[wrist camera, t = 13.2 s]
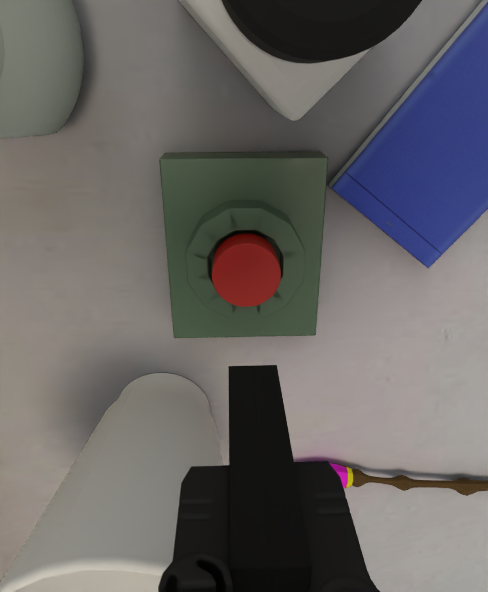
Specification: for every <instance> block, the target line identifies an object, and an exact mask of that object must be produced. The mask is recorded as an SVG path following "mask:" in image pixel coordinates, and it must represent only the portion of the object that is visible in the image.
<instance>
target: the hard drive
mask: <svg viewBox="0 0 488 592" xmlns="http://www.w3.org/2000/svg"><path fill="white" fill-rule="evenodd" d="M328 185H329V186H330V187H331V188H332V189H333V190H334V191H335V192H336V193H338V194H339V195H340V196H341V197H343V198H344V199H345V200H346V201H347V202H348V203H350V204H351V205H352V206H353V207H355V208H356V209H357V210H358V211H359V212H361V213H362V214H363V215H364V216H365V217H367V218H368V219H369V220H370V221H371V222H373V223H374V224H375V225H376V226H378V227H379V228H380V229H381V230H382V231H384V232H385V233H386V234H387V235H388V236H390V237H391V238H392V239H393V240H395V241H396V242H397V243H398V244H399V245H401V246H402V247H403V248H404V249H406V250H407V251H408V252H409V253H410V254H411V255H413V256H414V257H415V258H416V259H417V260H419V261H420V262H421V263H422V264H423V265H425V266H426V267H427V268H429V267H430V266H431V265H432V264H433V263H434V262H435V261H436V260H437V259H438V258H439V257H440V256H441V255H442V254H443V253H444V252H445V251H446V250H447V249H448V248H449V247H450V246H451V245H452V244H453V243H454V242H455V241H456V240H457V239H458V238H459V237H460V236H461V235H462V234H463V233H464V232H465V231H466V230H467V229H468V228H469V227H470V226H471V225H472V224H473V223H474V222H475V221H476V220H477V219H478V218H479V217H480V216H481V215H482V214H483V213H484V212H485V211H486V210H487V209H488V0H482V2H481V3H480V4H479V5H478V6H477V8H476V9H475V10H474V11H473V12H472V14H471V15H470V16H469V17H468V18H467V20H466V21H465V22H464V23H463V24H462V26H461V27H460V28H459V29H458V30H457V31H456V33H455V34H454V35H453V36H452V38H451V39H450V40H449V41H448V42H447V43H446V45H445V46H444V47H443V48H442V49H441V50H440V52H439V53H438V54H437V55H436V57H435V58H434V59H433V60H432V61H431V62H430V64H429V65H428V66H427V67H426V69H425V70H424V71H423V72H422V73H421V75H420V76H419V77H418V78H417V79H416V80H415V82H414V83H413V84H412V85H411V86H410V88H409V89H408V90H407V91H406V92H405V94H404V95H403V96H402V97H401V98H400V100H399V101H398V102H397V103H396V104H395V105H394V107H393V108H392V109H391V110H390V111H389V113H388V114H387V115H386V116H385V117H384V119H383V120H382V121H381V122H380V123H379V125H378V126H377V127H376V128H375V129H374V131H373V132H372V133H371V134H370V135H369V137H368V138H367V139H366V140H365V142H364V143H363V144H362V145H361V146H360V147H359V149H358V150H357V151H356V152H355V153H354V155H353V156H352V157H351V158H350V160H349V161H348V162H347V163H346V164H345V165H344V167H343V168H342V169H341V170H340V171H339V172H338V174H337V175H336V176H335V177H334V178H333V180H332V181H331V182H330V183H329V184H328Z"/></svg>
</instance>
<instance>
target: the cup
mask: <svg viewBox="0 0 488 592" xmlns="http://www.w3.org/2000/svg"><path fill="white" fill-rule="evenodd" d="M192 466H223V463H222V457H221V451H220V445H219V439H218V433H217V428H216V426H215V423H214V420H213V418H212V416H211V413H210V405H209V403H208V400H207V397H206V395H205V394H204V393H203V391H202V390H201V389H200V388H199V387H198V386H197V385H196V384H194V383H193V382H192V381H190V380H188V379H186V378H184V377H181V376H179V375H174V374H169V373H153V374H148V375H144V376H141V377H139V378H137V379H135V380H133V381H132V382H131V383H129V384H128V385H127V386H126V387H125V388H124V389H123V391H122V393H121V394H120V396H119V398H118V400H116V401H115V402H114V403H113V404H112V405H111V406H110V407H109V408H108V409H107V410H106V412H105V414H104V415H103V417H102V419H101V420H100V422H99V423H98V425H97V427H96V428H95V430H94V432H93V433H92V435H91V436H90V438H89V440H88V441H87V443H86V445H85V446H84V448H83V449H82V451H81V453H80V454H79V456H78V458H77V459H76V461H75V463H74V464H73V466H72V467H71V469H70V471H69V472H68V474H67V476H66V477H65V479H64V480H63V482H62V484H61V485H60V487H59V489H58V490H57V492H56V493H55V495H54V497H53V498H52V500H51V502H50V503H49V505H48V506H47V508H46V510H45V511H44V513H43V515H42V516H41V518H40V519H39V521H38V523H37V524H36V526H35V528H34V529H33V531H32V532H31V534H30V536H29V537H28V539H27V541H26V542H25V544H24V545H23V547H22V549H21V550H20V552H19V554H18V555H17V557H16V558H15V560H14V562H13V563H12V565H11V567H10V568H9V570H8V571H7V573H6V575H5V576H4V578H3V580H2V581H1V583H0V592H159V591H158V586H159V583H160V580H161V577H162V574H163V572H164V571H165V570H166V569H167V567H168V566H169V565H170V564H171V562H172V561H173V552H174V543H175V534H176V525H177V516H178V507H179V498H180V490H181V482H182V481H183V479H184V477H185V476H186V474H187V473H188V471H189V469H190V468H191V467H192Z"/></svg>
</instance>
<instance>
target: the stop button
mask: <svg viewBox="0 0 488 592" xmlns="http://www.w3.org/2000/svg"><path fill="white" fill-rule="evenodd" d="M280 279H281V270H280V265H279V261H278V258H277V254H276V252H275V250H274V248H273V247H272V245H271V244H270V243H269V242H268V241H267V240H265V239H264V238H262V237H260V236H258V235H255V234H248V233H243V234H237V235H234V236H232V237H230V238H228V239H226V240H225V241H224V242H223V243H222V244H221V245H220V246H219V247H218V249H217V250H216V252H215V255H214V259H213V267H212V281H213V285H214V287H215V289H216V291H217V292H218V294H219V295H220V296H221V297H222V298H223V299H224V300H226V301H227V302H229V303H231V304H233V305H237V306H242V307H250V306H255V305H259V304H261V303H263V302H265V301H266V300H268V299H269V298H270V297H271V296H272V295H273V294H274V293H275V292H276V290H277V288H278V286H279V283H280Z"/></svg>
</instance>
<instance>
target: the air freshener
mask: <svg viewBox="0 0 488 592" xmlns="http://www.w3.org/2000/svg"><path fill="white" fill-rule="evenodd" d="M83 70H84V48H83V42H82V35H81V28H80V24H79V21H78V17H77V14H76V10H75V7H74V4H73V2H72V0H0V138H13V137H27V136H39V135H48V134H54V133H57V132H58V131H59V130H60V129H61V127H62V126H63V125H64V124H65V123H66V121H67V119H68V117H69V115H70V114H71V112H72V110H73V108H74V106H75V103H76V100H77V97H78V94H79V91H80V88H81V82H82V76H83Z"/></svg>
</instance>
